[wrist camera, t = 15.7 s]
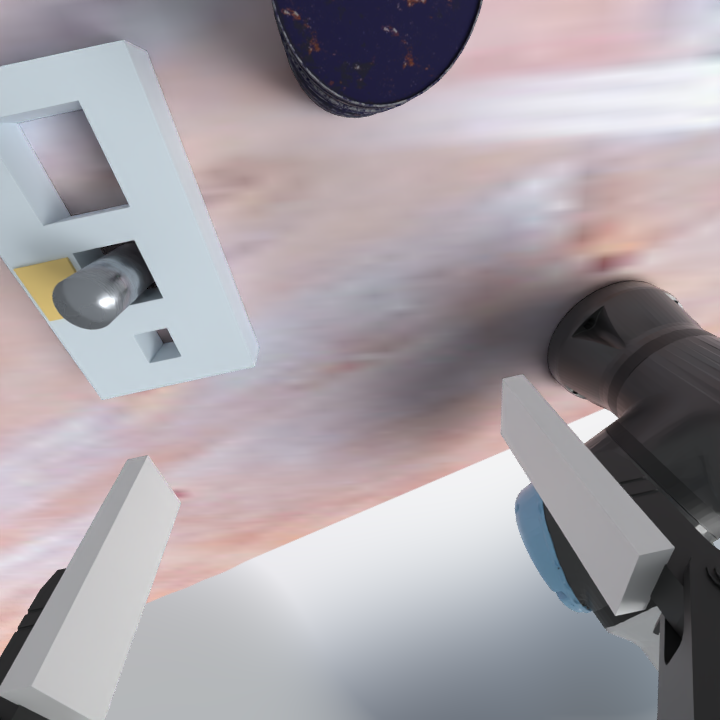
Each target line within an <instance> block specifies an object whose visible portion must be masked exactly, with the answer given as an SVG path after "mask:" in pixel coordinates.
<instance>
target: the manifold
mask: <svg viewBox="0 0 720 720" xmlns="http://www.w3.org/2000/svg"><path fill="white" fill-rule="evenodd" d="M81 109H83V111H84V113H85V115H86V117H87V119H88V121H89V123H90V125H91V127H92V129H93V131H94V133H95V136H96V138H97V140H98V142H99V144H100V146H101V148H102V150H103V152H104V154H105V156H106V158H107V160H108V162H109V164H110V167H111V169H112V171H113V173H114V175H115V177H116V179H117V181H118V183H119V185H120V187H121V189H122V191H123V193H124V195H125V197H126V200H127V202H128V204H125V205H120V206H116V207H111V208H107V209H102V210H97V211H93V212H88V213H84V214H79V215H74V216H71V215H70V214H69V212H68V210H67V208H66V207H65V205H64V203H63V201H62V200H61V198H60V196H59V194H58V193H57V191H56V189H55V187H54V186H53V184H52V182H51V180H50V179H49V177H48V175H47V173H46V172H45V170H44V168H43V166H42V165H41V163H40V161H39V159H38V158H37V156H36V154H35V152H34V151H33V149H32V147H31V145H30V144H29V142H28V140H27V138H26V137H25V135H24V133H23V131H22V130H21V128H20V126H19V124H18V123H21V122H25V121H30V120H35V119H39V118H44V117H48V116H53V115H58V114H62V113H67V112H72V111H76V110H81ZM132 240H134V241H135V243H136V245H137V247H138V248H139V250H140V252H141V254H142V256H143V258H144V260H145V262H146V264H147V266H148V268H149V270H150V272H151V274H152V276H153V278H154V280H155V282H156V284H157V286H158V287H156V288H151V289H146V290H145V291H144V292H143V293H142V294H141V295H140V296H139V297H137V298H136V299H135V300H134V301H133V302H132V303H131V304H130V305H129V306H128V307H127V308H126V309H125V310H124V311H123V312H122V313H121V314H120V315H119V316H117V317H116V318H115V319H114V320H113V321H112V322H111V323H110V324H109V325H108V326H106V327H104V328H101V329H96V330H90V329H84V328H80V327H77V326H75V325H73V324H71V323H70V322H68V321H67V320H65V319H64V318H63V317H62V316H61V315H60V314H59V312H58V311H57V310H56V308H55V306H54V303H53V299H52V293H53V290H54V288H55V286H56V285H57V284H58V283H59V282H61V281H62V280H64V279H66V278H67V277H69V276H71V275H72V274H74V273H76V272H77V271H79V270H81V269H82V268H84V267H86V266H87V265H89V264H91V263H92V262H94V261H96V260H97V259H99V258H101V257H102V256H104V254H103V253H102V251H101V249H100V247H104V246H109V245H114V244H118V243H123V242H127V241H132ZM0 257H1V258H2V260H3V261H4V262H5V264H6V265H7V267H8V268H9V269H10V271H11V272H12V274H13V275H14V276H15V278H16V279H17V281H18V282H19V284H20V285H21V286H22V288H23V289H24V291H25V292H26V293H27V295H28V296H29V298H30V299H31V300H32V302H33V303H34V305H35V306H36V308H37V309H38V310H39V312H40V313H41V315H42V316H43V317H44V319H45V320H46V322H47V323H48V324H49V326H50V327H51V329H52V330H53V332H54V333H55V334H56V336H57V337H58V339H59V340H60V341H61V343H62V344H63V346H64V347H65V348H66V350H67V351H68V353H69V354H70V356H71V357H72V358H73V360H74V361H75V363H76V364H77V365H78V367H79V368H80V370H81V371H82V372H83V374H84V375H85V377H86V378H87V380H88V381H89V382H90V384H91V385H92V387H93V388H94V389H95V391H96V392H97V394H98V395H99V396H100V398H101V399H102V400H104V399H109V398H114V397H118V396H123V395H128V394H132V393H137V392H141V391H146V390H151V389H155V388H160V387H165V386H169V385H174V384H178V383H183V382H188V381H192V380H197V379H202V378H206V377H211V376H215V375H220V374H225V373H229V372H234V371H239V370H243V369H248V368H253V367H255V365H256V361H257V357H258V353H259V349H260V347H259V344H258V342H257V339H256V337H255V334H254V331H253V329H252V326H251V323H250V321H249V318H248V316H247V313H246V310H245V308H244V305H243V302H242V300H241V297H240V295H239V292H238V289H237V287H236V284H235V281H234V279H233V276H232V274H231V271H230V268H229V266H228V263H227V260H226V258H225V255H224V253H223V250H222V247H221V245H220V242H219V239H218V237H217V234H216V232H215V229H214V226H213V224H212V221H211V218H210V216H209V213H208V211H207V208H206V205H205V203H204V200H203V197H202V195H201V192H200V190H199V187H198V184H197V182H196V179H195V176H194V174H193V171H192V169H191V166H190V163H189V161H188V158H187V155H186V153H185V150H184V148H183V145H182V142H181V140H180V137H179V134H178V132H177V129H176V127H175V124H174V121H173V119H172V116H171V113H170V111H169V108H168V106H167V103H166V100H165V98H164V95H163V92H162V90H161V87H160V85H159V82H158V79H157V77H156V74H155V71H154V69H153V66H152V64H151V61H150V58H149V56H148V53H147V51H146V50H144V49H142V48H140V47H138V46H136V45H134V44H132V43H130V42H128V41H126V40H119V41H115V42H110V43H106V44H101V45H96V46H92V47H87V48H83V49H78V50H73V51H69V52H64V53H60V54H55V55H50V56H46V57H41V58H37V59H32V60H27V61H23V62H18V63H14V64H9V65H4V66H0ZM164 328H167V329H168V331H169V333H170V335H171V337H172V339H173V341H174V342H169V343H164V344H163V342H162V340H161V338H160V336H159V335H158V333H157V331H156V330H159V329H164Z"/></svg>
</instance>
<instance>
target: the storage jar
mask: <svg viewBox="0 0 720 720" xmlns="http://www.w3.org/2000/svg"><path fill="white" fill-rule="evenodd" d="M482 1H483V0H272V5H273V10H274V15H275V19H276V22H277V25H278V29H279V32H280V36H281V39H282V42H283V45H284V47H285V51H286V54H287V58H288V61H289V64H290V67H291V69H292V71H293V73H294V76H295V78H296V79H297V81H298V83H299V84H300V86H301V87H302V89H303V90H304V91H305V93H306V94H307V95H308V96H309V97H310V99H312V100H313V101H314V102H315V103H316V104H317V105H318V106H320V107H321V108H323V109H324V110H326V111H328V112H330V113H333V114H335V115H338V116H343V117H349V118H360V117H366V116H371V115H373V114H376V113H380V112H384V111H387V110H390V109H392V108H395V107H398V106H400V105H403V104H404V103H406V102H408V101H410V100H411V99H413V98H415V97H417V96H418V95H420V94H422V93H424V92H425V91H427V90H428V89H429V88H431V87H432V86H433V85H434V84H436V83H437V82H438V81H439V80H440V79H441V78H442V77H443V76H444V75H445V74H446V73H447V72H448V70H449V69H450V68H451V67H452V66H453V64H454V63H455V61H456V60H457V58H458V57H459V56H460V54H461V53H462V51H463V49H464V47H465V45H466V43H467V42H468V40H469V38H470V36H471V34H472V31H473V29H474V26H475V23H476V21H477V18H478V16H479V13H480V9H481V5H482Z"/></svg>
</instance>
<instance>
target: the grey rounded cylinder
mask: <svg viewBox="0 0 720 720" xmlns="http://www.w3.org/2000/svg"><path fill="white" fill-rule="evenodd" d="M154 281H155V280H154V278H153V276H152V274H151V272H150V270H149V268H148V266H147V264H146V262H145V260H144V258H143V256H142V254H141V252H140V250H139V248H138V247H137V245H136V243H135V242H128V243H125V244H123V245H121V246H119V247H118V248H116V249H114V250H113V251H111V252H109V253H108V254H106V255H104V256H102V257H101V258H99V259H97V260H96V261H94V262H92V263H91V264H89V265H87V266H86V267H84V268H82V269H81V270H79V271H77V272H76V273H74V274H72V275H71V276H69V277H67V278H66V279H64V280H62V281H61V282H59V283H58V284H57V285H56V286H55V288H54V290H53V293H52V299H53V303H54V306H55V308H56V310H57V311H58V312H59V314H60V315H61V316H62V317H63V318H64V319H65V320H67V321H68V322H70V323H71V324H73V325H75V326H77V327H80V328H84V329H90V330H96V329H101V328H104V327H106V326H108V325H109V324H110V323H111V322H112V321H113V320H114V319H115V318H116V317H117V316H119V315H120V314H121V313H122V312H123V311H124V310H125V309H126V308H127V307H128V306H129V305H130V304H131V303H132V302H133V301H134V300H135V299H136V298H137V297H139V296H140V295H141V294H142V293H143V292H144V291H145V290H146V289H147V288H148V287H149V286H150V285H151V284H152V283H153V282H154Z"/></svg>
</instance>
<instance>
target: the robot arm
mask: <svg viewBox="0 0 720 720" xmlns="http://www.w3.org/2000/svg"><path fill="white" fill-rule="evenodd" d="M548 365H549V369H550V371H551V373H552V375H553V377H554V378H555V379H556V380H557V381H558V382H559V383H560V384H561V385H562V386H563V387H564V388H565V389H566V390H567V391H569V392H570V393H572V394H573V395H575V396H578V397H580V398H583V399H587V400H588V401H590V402H592V403H594V404H596V405H598V406H600V407H603V408H605V409H607V410H610V411H611V412H612V413H614V414H615V415H616V416H617V417H618V418H619V419H618V420H616V421H615V422H613V423H612V424H611V425H609V426H608V427H607V428H605V429H604V430H602V431H601V432H600V433H598V434H597V435H596V436H594V437H593V438H592V439H590V440H589V441H588V442H586V443H585V444H584V443H583V442H582V441H581V440H580V439H579V438H578V437H577V436H576V434H575V433H574V432H573V431H572V430H571V429H570V427H569V426H568V425H567V424H566V423H565V422H564V420H563V419H562V418H561V417H560V416H559V415H558V414H557V412H556V411H555V410H554V409H553V408H552V407H551V406H550V404H549V403H548V402H547V401H546V400H545V399H544V398H543V397H542V395H541V394H540V393H539V392H538V391H537V390H536V389H535V387H534V386H533V385H532V384H531V383H530V382H529V381H528V379H527V378H526V377H525V376H524V375H523V374H522V375H517V376H513V377H508V378H503V379H502V407H501V435H502V437H503V438H504V440H505V441H506V443H507V445H508V446H509V448H510V449H511V451H512V453H513V454H514V456H515V457H516V459H517V460H518V462H519V464H520V465H521V467H522V468H523V470H524V472H525V473H526V475H527V476H528V478H529V480H530V481H531V483H530V484H529V485H528V486H527V487H525V488H524V489H523V490H522V491H521V492H520V493H519V495H518V497H517V499H516V502H515V513H516V521H517V525H518V529H519V532H520V535H521V537H522V540H523V542H524V545H525V547H526V549H527V551H528V553H529V555H530V557H531V559H532V561H533V563H534V565H535V566H536V568H537V570H538V571H539V573H540V575H541V576H542V578H543V579H544V581H545V582H546V584H547V585H548V586H549V588H550V589H551V590H552V591H554V592H556V593H557V596H558V597H559V599H560V600H561V601H562V602H563V603H564V604H565V605H566V606H567V607H568V608H570V609H571V610H573V611H576V612H584V613H589V612H591V611H593V612H594V613H595V615H596V616H597V618H598V619H599V621H600V622H601V623H602V625H603V626H604V628H605V629H606V630H607V631H608V632H609V633H611V634H614V635H616V636H618V637H621V638H623V639H626V640H628V641H631V642H633V643H635V644H636V645H638V646H639V647H641V649H642V650H643V651H644V653H645V654H646V656H647V657H648V658H649V660H650V661H651V662H652V664H653V665H654V666H655V667H656V669H657V670H658V672H659V680H658V717H657V718H658V719H657V720H720V550H719V549H717V548H716V547H715V546H714V544H713V542H714V541H716V540H718V539H719V538H720V338H719V337H717V336H715V335H713V334H711V333H709V332H707V331H705V330H703V329H702V328H701V327H700V326H699V325H698V323H697V322H696V321H694V320H693V319H692V318H691V317H690V316H689V315H688V314H687V313H686V312H685V311H684V309H683V307H682V305H681V304H680V303H679V301H678V300H677V299H676V298H675V297H674V296H673V295H671V294H670V293H668V292H667V291H665V290H662V289H660V288H658V287H656V286H653V285H651V284H649V283H645V282H640V281H626V282H620V283H616V284H612V285H609V286H607V287H604V288H602V289H600V290H598V291H596V292H594V293H592V294H591V295H589V296H587V297H586V298H584V299H583V300H582V301H580V302H579V303H578V304H577V305H576V306H575V307H573V308H572V309H571V310H570V311H569V312H568V314H567V315H566V316H565V317H564V318H563V320H562V321H561V322H560V324H559V325H558V327H557V328H556V330H555V332H554V334H553V336H552V339H551V341H550V345H549V349H548ZM180 505H181V502H180V500H179V499H178V498H177V496H176V495H175V493H174V492H173V490H172V489H171V487H170V486H169V485H168V483H167V482H166V480H165V479H164V477H163V476H162V474H161V473H160V472H159V470H158V469H157V467H156V466H155V464H154V463H153V462H152V460H151V459H150V457H149V456H148V455H147V456H142V457H137V458H133V459H128V460H127V461H126V463H125V465H124V467H123V468H122V470H121V472H120V474H119V476H118V477H117V479H116V481H115V483H114V485H113V486H112V488H111V490H110V492H109V493H108V495H107V497H106V499H105V501H104V502H103V504H102V506H101V508H100V509H99V511H98V513H97V515H96V517H95V518H94V520H93V522H92V524H91V525H90V527H89V529H88V531H87V533H86V534H85V536H84V538H83V540H82V541H81V543H80V545H79V547H78V549H77V550H76V552H75V554H74V556H73V557H72V559H71V561H70V563H69V565H68V566H67V568H65V569H61V570H57V571H56V573H55V574H54V575H53V576H52V577H51V578H50V579H49V580H48V582H47V583H46V584H45V585H44V586H43V587H42V588H41V589H40V591H39V593H38V594H37V596H36V598H35V599H34V601H33V603H32V604H31V606H30V608H29V609H28V614H27V615H25V616H24V618H23V620H22V621H21V623H20V625H19V626H18V631H17V632H15V633H14V635H13V636H12V638H11V640H10V641H9V643H8V645H7V647H6V648H5V650H4V652H3V653H2V655H1V657H0V720H105V718H106V715H107V712H108V709H109V707H110V704H111V701H112V698H113V695H114V692H115V690H116V687H117V684H118V680H119V678H120V675H121V672H122V669H123V667H124V664H125V661H126V658H127V655H128V653H129V650H130V647H131V644H132V641H133V638H134V636H135V633H136V630H137V627H138V624H139V621H140V618H141V616H142V613H143V610H144V607H145V604H146V601H147V599H148V596H149V593H150V590H151V587H152V584H153V581H154V579H155V576H156V573H157V570H158V567H159V564H160V562H161V559H162V556H163V553H164V550H165V547H166V544H167V542H168V539H169V536H170V533H171V530H172V527H173V525H174V522H175V519H176V516H177V513H178V510H179V507H180Z"/></svg>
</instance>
